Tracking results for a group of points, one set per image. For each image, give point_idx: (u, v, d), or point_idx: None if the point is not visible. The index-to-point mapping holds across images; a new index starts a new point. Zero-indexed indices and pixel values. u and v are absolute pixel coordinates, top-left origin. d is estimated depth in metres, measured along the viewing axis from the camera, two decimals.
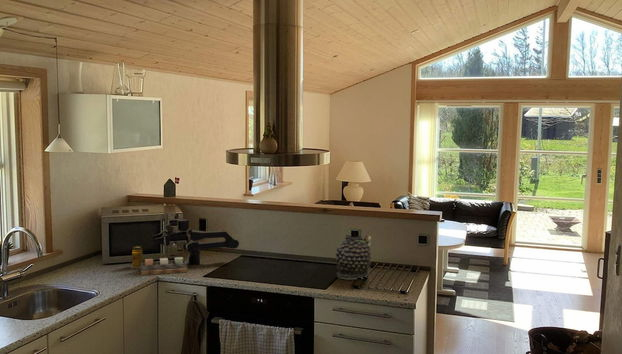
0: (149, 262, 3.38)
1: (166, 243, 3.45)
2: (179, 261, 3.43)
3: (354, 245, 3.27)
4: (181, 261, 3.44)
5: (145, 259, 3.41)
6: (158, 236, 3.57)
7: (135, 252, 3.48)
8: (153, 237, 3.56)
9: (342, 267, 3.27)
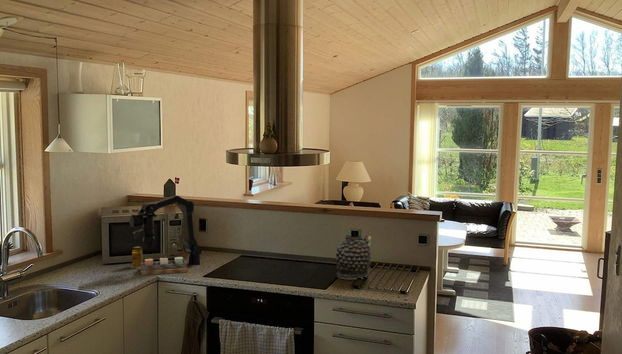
0: (149, 262, 3.38)
1: (152, 240, 3.30)
2: (179, 261, 3.43)
3: (354, 245, 3.27)
4: (181, 261, 3.44)
5: (145, 259, 3.41)
6: None
7: (135, 252, 3.48)
8: None
9: (342, 267, 3.27)
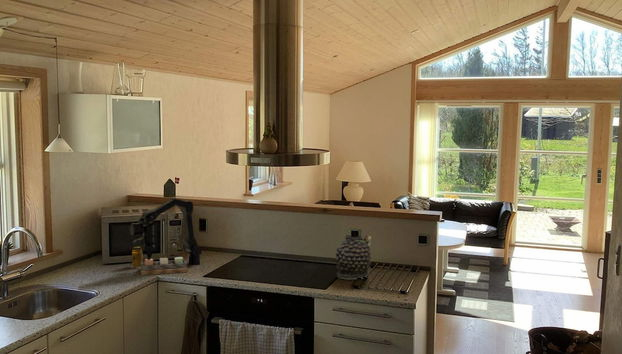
0: (149, 262, 3.38)
1: (152, 249, 3.31)
2: (179, 261, 3.43)
3: (354, 245, 3.27)
4: (181, 261, 3.44)
5: (145, 259, 3.41)
6: None
7: (135, 252, 3.48)
8: None
9: (342, 267, 3.27)
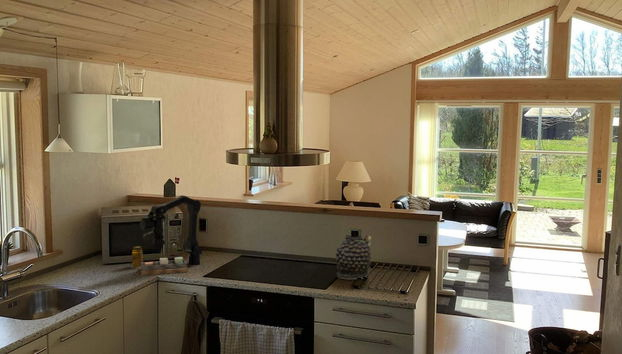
0: None
1: (162, 243, 3.32)
2: (179, 261, 3.43)
3: (354, 245, 3.27)
4: (181, 261, 3.44)
5: (145, 262, 3.41)
6: None
7: (135, 252, 3.48)
8: None
9: (342, 267, 3.27)
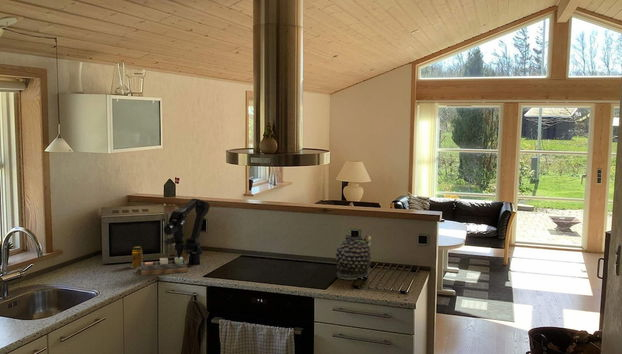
0: None
1: (182, 248, 3.36)
2: (179, 261, 3.43)
3: (354, 245, 3.27)
4: (181, 261, 3.44)
5: (145, 262, 3.41)
6: None
7: (135, 252, 3.48)
8: None
9: (342, 267, 3.27)
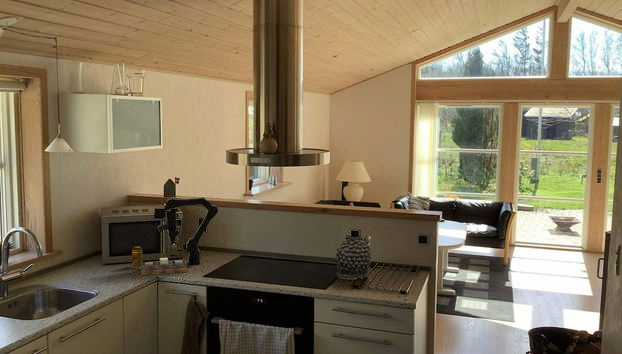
0: None
1: (176, 234, 3.47)
2: None
3: (354, 245, 3.27)
4: None
5: (145, 262, 3.41)
6: None
7: (135, 252, 3.48)
8: None
9: (342, 267, 3.27)
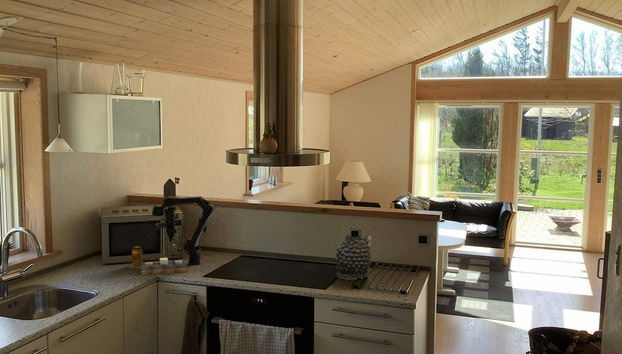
0: None
1: (173, 232, 3.51)
2: None
3: (354, 245, 3.27)
4: None
5: (145, 262, 3.41)
6: None
7: (135, 252, 3.48)
8: None
9: (342, 267, 3.27)
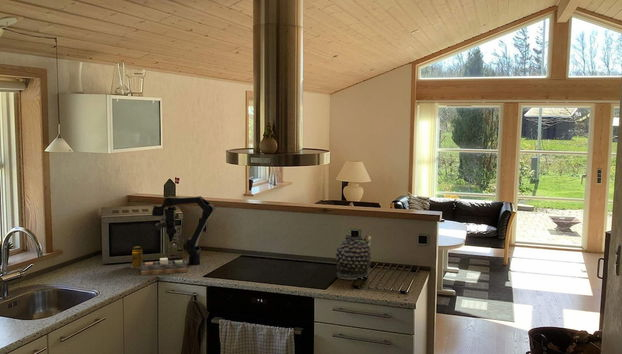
0: None
1: (173, 232, 3.51)
2: None
3: (354, 245, 3.27)
4: None
5: (145, 262, 3.41)
6: None
7: (135, 252, 3.48)
8: None
9: (342, 267, 3.27)
